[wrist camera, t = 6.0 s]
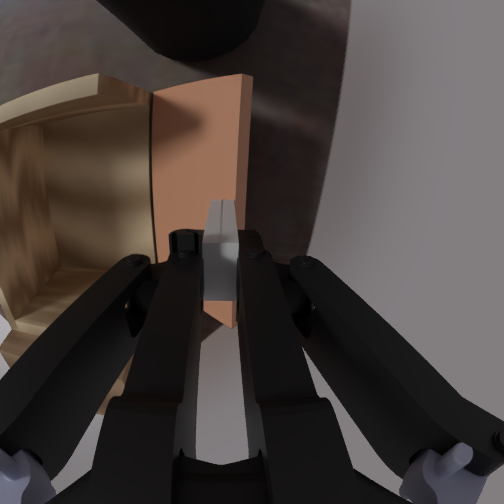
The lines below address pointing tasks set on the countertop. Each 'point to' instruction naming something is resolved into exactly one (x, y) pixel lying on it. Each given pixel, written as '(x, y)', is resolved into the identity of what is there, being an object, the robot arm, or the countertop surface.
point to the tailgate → (200, 160)
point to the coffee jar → (188, 24)
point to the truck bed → (71, 199)
